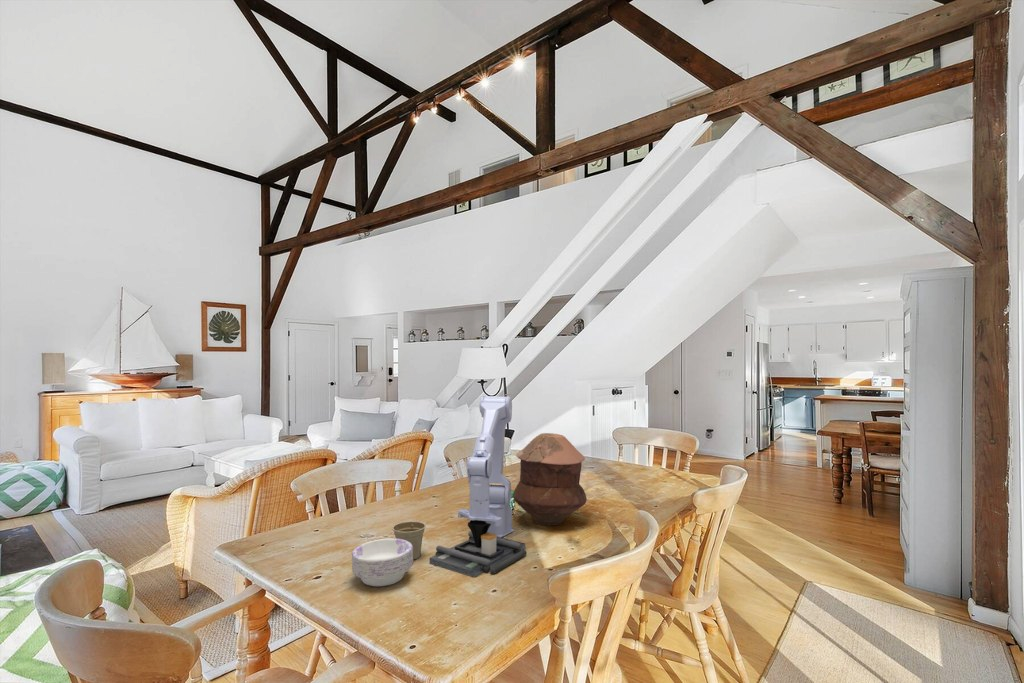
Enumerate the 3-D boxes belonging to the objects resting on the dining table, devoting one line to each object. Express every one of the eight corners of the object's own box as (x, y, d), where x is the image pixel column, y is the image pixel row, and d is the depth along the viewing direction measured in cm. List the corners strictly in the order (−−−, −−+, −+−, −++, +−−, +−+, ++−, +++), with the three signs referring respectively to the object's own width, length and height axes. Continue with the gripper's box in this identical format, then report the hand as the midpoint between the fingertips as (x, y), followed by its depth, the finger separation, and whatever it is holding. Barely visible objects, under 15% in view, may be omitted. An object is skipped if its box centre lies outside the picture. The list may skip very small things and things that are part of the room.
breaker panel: (483, 537, 160) (483, 530, 160) (525, 548, 151) (525, 541, 151) (429, 563, 140) (429, 555, 140) (474, 577, 131) (474, 569, 131)
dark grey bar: (471, 540, 158) (471, 529, 158) (521, 553, 147) (521, 542, 147) (467, 541, 156) (467, 531, 156) (517, 555, 145) (517, 544, 145)
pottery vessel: (501, 514, 183) (501, 431, 184) (563, 506, 193) (563, 427, 194) (532, 538, 159) (532, 442, 160) (601, 527, 169) (601, 437, 170)
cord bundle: (469, 540, 157) (469, 530, 157) (526, 555, 145) (526, 544, 145) (434, 557, 144) (434, 546, 144) (493, 575, 132) (493, 563, 132)
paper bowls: (343, 576, 132) (343, 545, 132) (397, 562, 141) (397, 533, 141) (365, 599, 119) (365, 564, 120) (423, 581, 129) (423, 550, 129)
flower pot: (390, 553, 147) (390, 523, 147) (422, 548, 150) (422, 519, 151) (394, 565, 138) (394, 533, 139) (428, 560, 142) (428, 529, 142)
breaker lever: (487, 549, 145) (487, 532, 146) (496, 552, 144) (496, 534, 144) (481, 553, 143) (481, 535, 143) (490, 555, 141) (490, 537, 141)
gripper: (451, 497, 146) (451, 545, 146) (491, 506, 138) (491, 556, 138) (466, 492, 152) (466, 538, 152) (506, 500, 144) (506, 548, 144)
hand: (479, 546), depth 145 cm, fingers closed
